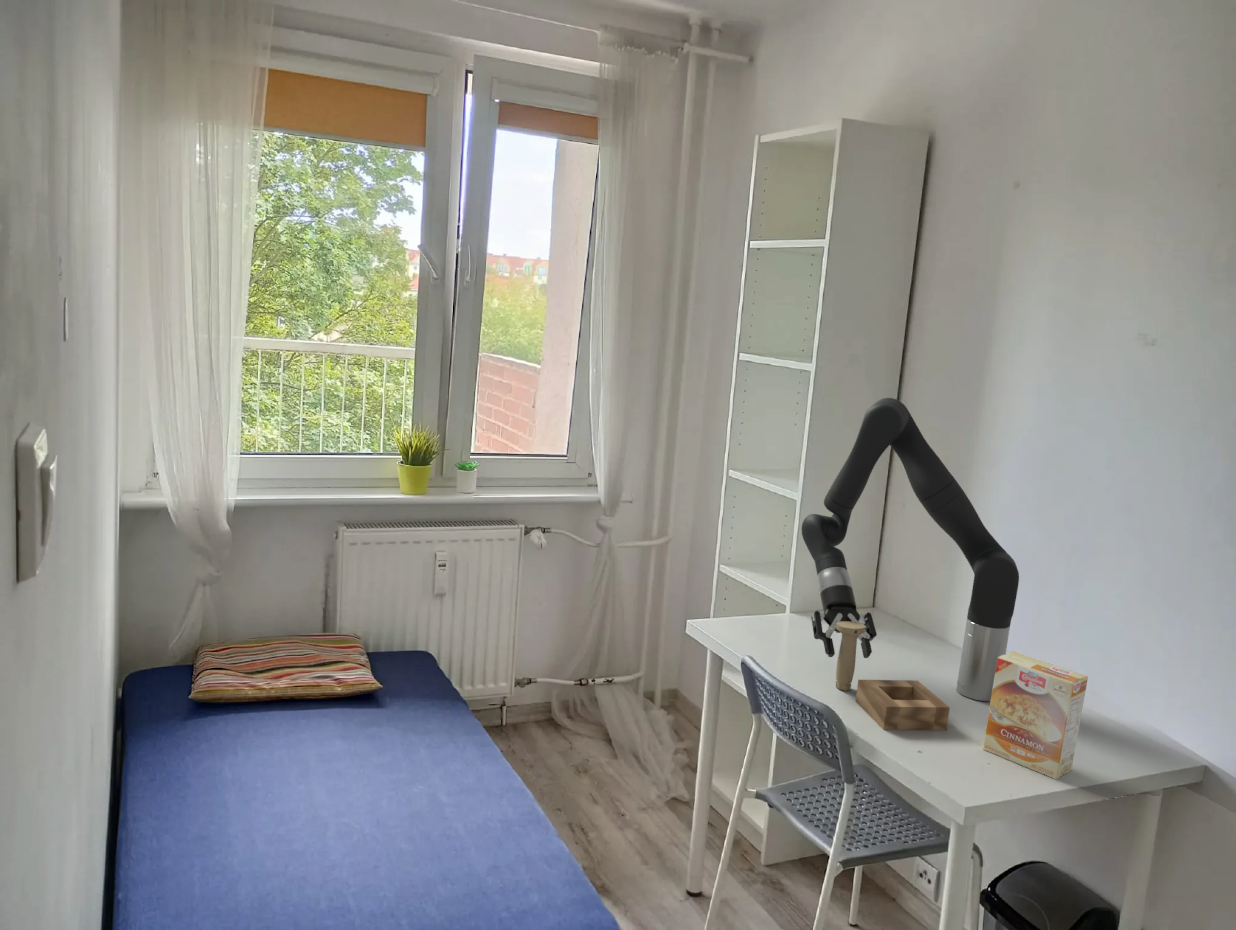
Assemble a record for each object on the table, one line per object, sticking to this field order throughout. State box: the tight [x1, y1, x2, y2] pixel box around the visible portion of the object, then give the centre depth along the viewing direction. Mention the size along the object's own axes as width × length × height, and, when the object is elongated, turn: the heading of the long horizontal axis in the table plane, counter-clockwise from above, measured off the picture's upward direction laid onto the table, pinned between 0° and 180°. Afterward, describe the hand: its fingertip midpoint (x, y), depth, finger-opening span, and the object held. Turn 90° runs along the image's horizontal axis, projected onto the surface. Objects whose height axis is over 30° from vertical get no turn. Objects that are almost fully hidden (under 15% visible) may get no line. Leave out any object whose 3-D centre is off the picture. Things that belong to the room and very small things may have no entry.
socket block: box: [855, 679, 951, 731], centre depth 205 cm, size 14×14×5 cm
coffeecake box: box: [982, 651, 1089, 780], centre depth 187 cm, size 15×7×20 cm, turn 42°
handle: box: [835, 621, 866, 692], centre depth 216 cm, size 5×6×15 cm
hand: (849, 656), depth 215 cm, fingers open, 8 cm apart
